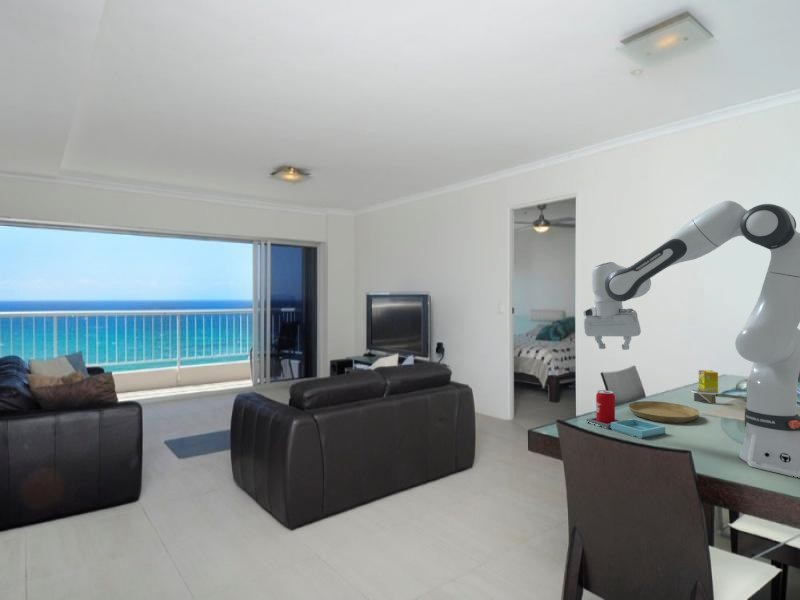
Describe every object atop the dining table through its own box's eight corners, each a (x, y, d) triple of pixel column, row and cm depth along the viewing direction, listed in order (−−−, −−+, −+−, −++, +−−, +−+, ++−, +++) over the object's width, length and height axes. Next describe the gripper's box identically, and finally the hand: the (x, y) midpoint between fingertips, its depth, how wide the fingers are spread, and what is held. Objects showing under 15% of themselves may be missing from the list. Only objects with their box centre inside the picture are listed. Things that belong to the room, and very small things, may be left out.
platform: (731, 408, 195) (731, 392, 195) (681, 403, 204) (681, 388, 204) (728, 402, 206) (728, 387, 206) (680, 398, 215) (680, 384, 215)
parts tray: (665, 433, 159) (665, 426, 159) (641, 438, 153) (641, 431, 153) (633, 425, 169) (633, 418, 169) (610, 429, 164) (610, 422, 164)
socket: (624, 425, 169) (624, 421, 169) (607, 429, 165) (607, 424, 165) (603, 419, 177) (603, 415, 177) (586, 422, 173) (586, 418, 173)
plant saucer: (695, 428, 166) (695, 419, 166) (622, 418, 180) (621, 409, 180) (702, 414, 185) (702, 406, 185) (634, 406, 199) (634, 398, 199)
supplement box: (698, 392, 225) (698, 369, 225) (711, 393, 224) (711, 370, 224) (704, 395, 219) (704, 371, 219) (718, 395, 218) (718, 372, 218)
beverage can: (605, 421, 175) (605, 389, 175) (618, 425, 169) (618, 392, 169) (592, 423, 173) (592, 390, 172) (605, 427, 167) (605, 393, 167)
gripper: (642, 307, 156) (647, 348, 156) (591, 310, 174) (595, 347, 174) (629, 309, 153) (635, 351, 153) (579, 311, 171) (584, 349, 171)
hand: (613, 349), depth 163 cm, fingers open, 8 cm apart
